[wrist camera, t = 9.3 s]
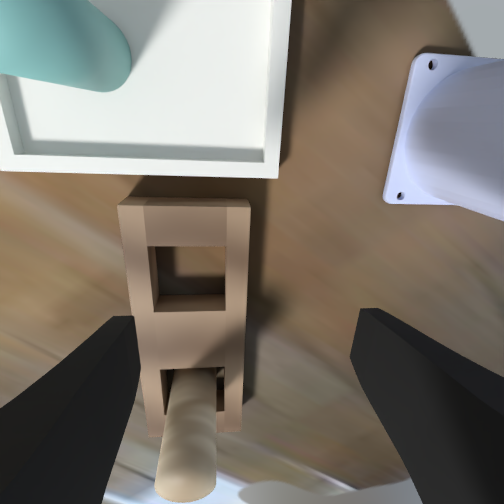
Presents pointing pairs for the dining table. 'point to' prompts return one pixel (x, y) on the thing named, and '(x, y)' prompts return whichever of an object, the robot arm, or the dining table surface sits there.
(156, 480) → the birch dowel
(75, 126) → the tray
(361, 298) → the dining table surface
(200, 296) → the rack
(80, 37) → the teal dowel
